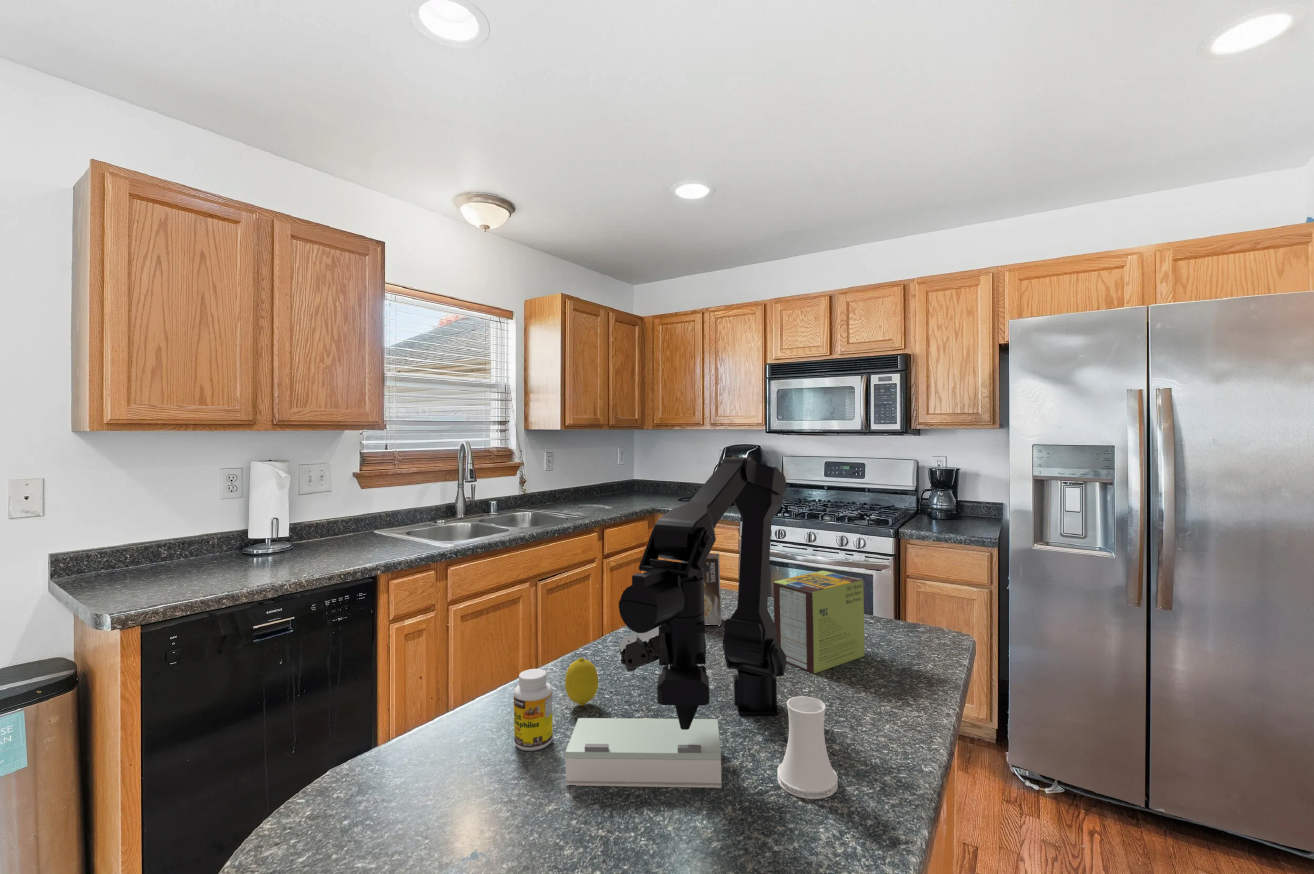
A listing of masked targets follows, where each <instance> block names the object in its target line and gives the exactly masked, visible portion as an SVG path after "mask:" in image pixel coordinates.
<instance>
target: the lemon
mask: <svg viewBox="0 0 1314 874" xmlns="http://www.w3.org/2000/svg"><path fill="white" fill-rule="evenodd" d="M565 673H566V674H565V678H564V679H565V680H564V688H565V692H566V695H567V696H568V698H569V700H571V701H572V702H574V703H576V704H578V705H579V706H581V707H583V706H585V705H586V703H589V702H590V701H592V700H593V698H595V696H596V694H597V692H598V688H599V675H598V670H597V668H596V666H595V664H594V663H592V661H590V660H588V659H585V658H584V657H579V658H578V659H577V660H574V661H573V662H572V663H571V664H570V665H569V666H568V668H567V670H566V672H565Z"/></svg>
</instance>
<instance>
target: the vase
mask: <svg viewBox="0 0 1314 874" xmlns="http://www.w3.org/2000/svg"><path fill="white" fill-rule="evenodd" d="M786 706H787V713H788V714H787V715H788V739H787V745H786V751H785V754H784V756H783V760H782V762H781V763H780V764H779V765H778V767H777V770H776V773H777V776H776V777H777V778H776V779H777V782H778V784H779V786H780V787H781V788H782V789H783V790H784V791H785V792H787V793H789V794H791V795H793V796H795V797H798V798H803V799H808V800H809V799H810V800H819V799H820V800H821V799H825V798H828V797H831V796H832V795H834V794H835V793H836V792H837V790H838V786H839V785H838V784H839V783H838V774H837V772H836V771H835V770H834V768H833V767H832V763H831V761H830V758H829V755H828V751H827V746H826V739H825V714H826V713H825V711H826V704H825V702H823V701H822V700H821V699H818V698H816V697H811V696H805V695H801V696H800V695H799V696H793V697H790V698H789V699H787V701H786Z"/></svg>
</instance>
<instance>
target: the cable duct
mask: <svg viewBox="0 0 1314 874" xmlns="http://www.w3.org/2000/svg"><path fill="white" fill-rule="evenodd" d="M569 785H576V787H580V786H581V787H583V786H584V787H585V786H586V787H588V786H589V787H639V788H640V787H643V788H645V787H652V788H666V787H667V788H712V789H713V788H719V789H720V788H722V759H721V760H692V759H607V758H565V786H569Z"/></svg>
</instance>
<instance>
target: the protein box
mask: <svg viewBox="0 0 1314 874" xmlns="http://www.w3.org/2000/svg"><path fill="white" fill-rule="evenodd" d="M772 586H773V611H774V612H773V616H774V617H773V619H774V620H773V622H774V624H775V626H776V634H777V642H778V643H779V645H780V647H781V648H782V650H783V651H784V653H785V655H786V664H789V665H792V666H794V667H796V668H799V669H801V670H804V671H806V672H809V673H811V674H814V675H815V674H817V673H820V672H824V671H826V670H828V669H831V668H833V667H838V666H840V665H843V664H846V663H849V662H851V661H854V660H857V659H860V658H862V657H865V656H866V655H865V654H866V653H865V607H864V606H865V605H864V603H865V601H864V599H865V597H864V595H865V594H864V593H865V592H864V579H863V578H858V577H854V576H848V575H844V574H840V573H836V572H832V571H827V570H819V571H816V572H811V573H805V574H801V575H796V576H792V577H788V578H783V579H779V580H775V581H773V585H772Z"/></svg>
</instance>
